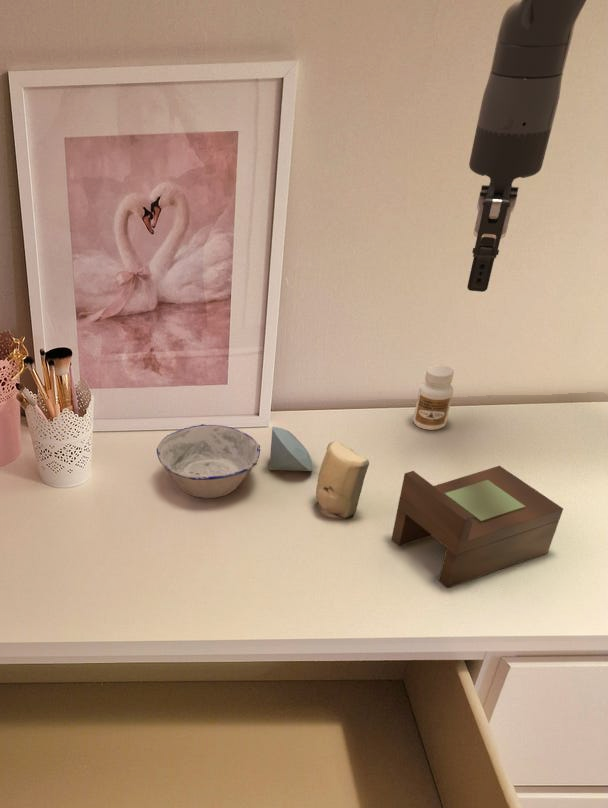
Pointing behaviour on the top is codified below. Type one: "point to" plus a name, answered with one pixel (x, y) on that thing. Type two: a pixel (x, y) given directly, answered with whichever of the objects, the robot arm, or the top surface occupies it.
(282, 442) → the gemstone
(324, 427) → the top surface
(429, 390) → the pill bottle
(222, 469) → the bowl
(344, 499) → the beige rounded block
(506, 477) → the shelf
